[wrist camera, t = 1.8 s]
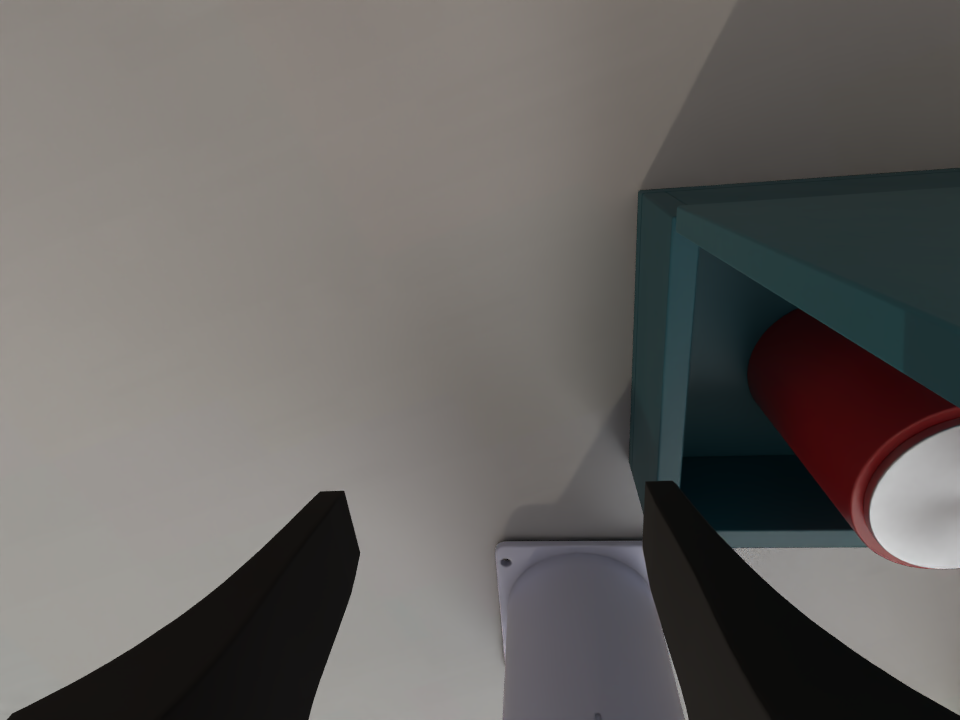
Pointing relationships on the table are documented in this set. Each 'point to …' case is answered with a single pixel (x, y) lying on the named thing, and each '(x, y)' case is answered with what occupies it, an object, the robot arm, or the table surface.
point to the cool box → (725, 372)
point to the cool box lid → (855, 268)
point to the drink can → (865, 438)
